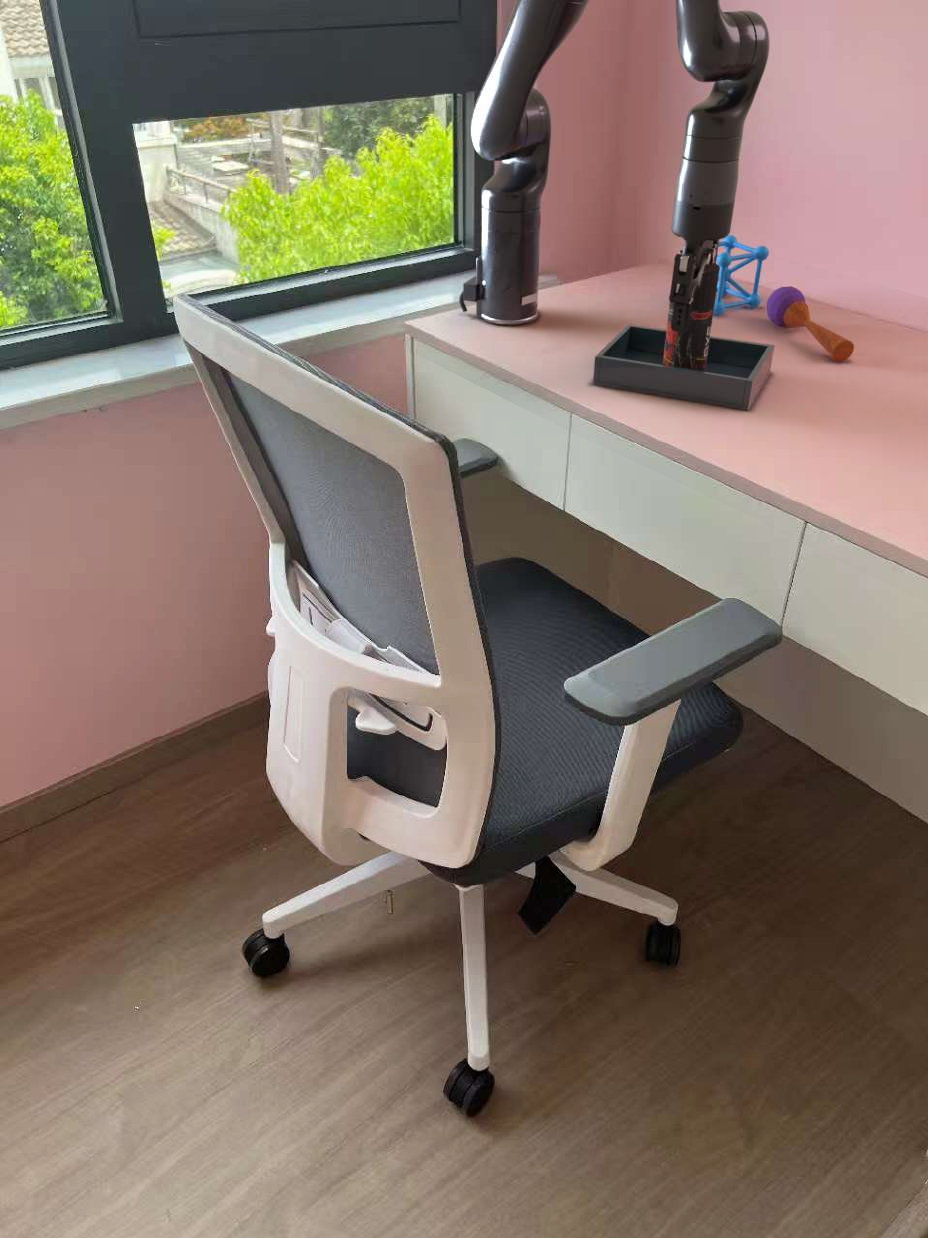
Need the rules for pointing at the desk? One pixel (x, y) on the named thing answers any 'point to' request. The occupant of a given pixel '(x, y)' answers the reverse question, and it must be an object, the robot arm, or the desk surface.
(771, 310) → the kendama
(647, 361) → the dark grey tray
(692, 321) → the deodorant
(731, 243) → the molecular structure
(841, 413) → the desk surface
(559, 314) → the desk surface
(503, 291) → the robot arm
